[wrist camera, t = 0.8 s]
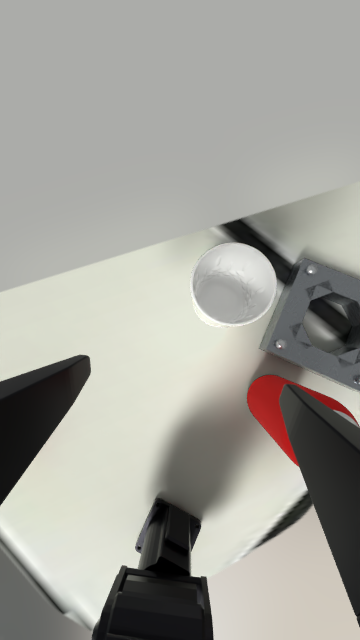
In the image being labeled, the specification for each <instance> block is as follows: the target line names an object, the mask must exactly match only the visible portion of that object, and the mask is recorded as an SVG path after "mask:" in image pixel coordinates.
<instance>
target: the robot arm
mask: <svg viewBox="0 0 360 640" xmlns="http://www.w3.org/2000/svg"><path fill="white" fill-rule="evenodd" d="M90 373H91V367H90V358H89V356H86V355H77V356H74V357H72V358H69V359H66V360H63V361H60V362H57V363H54V364H51V365H48V366H45V367H42V368H39V369H36V370H33V371H30V372H27V373H24V374H21V375H18V376H16V377H13V378H10V379H7V380H4V381H1V382H0V505H1V504H2V503H3V501H4V500H5V499H6V497H7V496H8V494H9V493H10V492H11V490H12V489H13V487H14V486H15V485H16V483H17V482H18V480H19V479H20V478H21V476H22V475H23V473H24V472H25V471H26V469H27V468H28V466H29V465H30V464H31V462H32V461H33V459H34V458H35V457H36V455H37V454H38V452H39V451H40V450H41V448H42V447H43V445H44V444H45V443H46V441H47V440H48V438H49V437H50V436H51V434H52V433H53V432H54V430H55V429H56V427H57V426H58V425H59V423H60V422H61V420H62V419H63V418H64V416H65V415H66V413H67V412H68V411H69V409H70V408H71V406H72V405H73V403H74V402H75V400H76V398H77V397H78V395H79V393H80V391H81V390H82V388H83V386H84V385H85V383H86V381H87V379H88V378H89V376H90ZM279 404H280V408H281V412H282V416H283V419H284V423H285V427H286V431H287V434H288V438H289V441H290V443H291V446H292V449H293V451H294V454H295V457H296V459H297V462H298V465H299V467H300V470H301V473H302V475H303V478H304V481H305V483H306V486H307V488H308V491H309V494H310V496H311V499H312V502H313V504H314V507H315V510H316V512H317V514H318V518H319V520H320V523H321V525H322V528H323V531H324V533H325V536H326V539H327V541H328V544H329V547H330V549H331V552H332V555H333V557H334V560H335V562H336V565H337V568H338V570H339V573H340V576H341V578H342V581H343V584H344V586H345V589H346V592H347V594H348V597H349V600H350V602H351V605H352V607H353V610H354V613H355V615H356V616H357V621H358V624H359V627H360V428H359V427H357V426H356V425H354V424H353V423H351V422H350V421H348V420H347V419H345V418H344V417H342V416H341V415H340V414H338V413H337V412H335V411H334V410H332V409H331V408H329V407H328V406H326V405H325V404H323V403H322V402H320V401H319V400H317V399H316V398H314V397H313V396H311V395H310V394H308V393H307V392H305V391H304V390H302V389H301V388H299V387H298V386H296V385H294V384H285V385H284V386H283V389H282V392H281V395H280V398H279ZM157 503H159V505H158V504H157ZM196 524H198V526H196ZM200 529H201V522H200V520H198V519H197V518H195V517H193V516H191V515H189V514H188V513H186V512H184V511H182V510H180V509H179V508H177V507H175V506H173V505H171V504H169V503H167V502H165V501H163V500H162V499H159V498H157V499H155V501H154V503H153V506H152V508H151V510H150V513H149V515H148V517H147V520H146V522H145V524H144V526H143V529H142V531H141V533H140V536H139V538H138V540H137V543H136V546H135V549H136V551H137V552H139V553H141V557H140V561H139V566H138V569H134V568H127V566H123V565H122V566H121V569H120V571H119V574H117V576H116V579H115V581H114V583H113V586H112V588H111V591H110V593H109V596H108V598H107V600H106V603H105V605H104V608H103V610H102V614H101V617H100V619H99V620H98V622H97V623H96V625H95V627H94V630H93V634H92V640H213V625H212V615H211V607H210V600H209V593H208V586H207V578H206V577H204V576H201V578H200V577H192V576H191V551H192V549H193V546H194V544H195V541H196V539H197V536H198V534H199V532H200ZM140 546H141V547H140Z"/></svg>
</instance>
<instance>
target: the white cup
mask: <svg viewBox="0 0 360 640" xmlns="http://www.w3.org/2000/svg"><path fill="white" fill-rule="evenodd" d="M190 289H191V296H192V303H193V307H194V310H195V312H196V313H197V315H198V317H199V319H200V320H202V321H203V322H204V323H206V324H207V325H210V326H214V327H233V326H242V325H246V324H249V323H252V322H254V321H256V320H257V319H259V318H260V317H262V316H263V315H264V314H265V313H266V312H267V311H268V310H269V308H270V307H271V305H272V303H273V301H274V299H275V295H276V290H277V279H276V274H275V271H274V269H273V267H272V265H271V263H270V261H269V260H268V259H267V258H266V257H265V256H264V255H263V254H262V253H261V252H260V251H258V250H257V249H255V248H254V247H251V246H249V245H246V244H242V243H224V244H220V245H217V246H215V247H213V248H211V249H209V250H208V251H206V252H205V253H204V254H203V255H202V256H201V257H200V258H199V259H198V261H197V262H196V264H195V266H194V268H193V270H192V274H191V279H190Z"/></svg>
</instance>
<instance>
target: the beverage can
mask: <svg viewBox="0 0 360 640" xmlns="http://www.w3.org/2000/svg"><path fill="white" fill-rule="evenodd" d="M285 384H294V385H296V386H298V387H299V388H301V389H302V390H304V391H305V392H307V393H308V394H310V395H311V396H313V397H314V398H316V399H317V400H319V401H320V402H322V403H323V404H325V405H326V406H328V407H329V408H331V409H332V410H334V411H335V412H337V413H338V414H340V415H341V416H342V417H344V418H345V419H347V420H348V421H350V422H351V423H353V424H354V425H356V426H357V427H359V428H360V426H359V425H358V423H357V421H356V419H355V418H354V416H353V415H352V414H351V413H350V411H349V410H348V409H347V408H346V407H344V406H343V405H342V404H341V403H339V402H338V401H336V400H334V399H333V398H330V397H328V396H326V395H323V394H321V393H318V392H316V391H313V390H311V389H308V388H306V387H303V386H301V385H299V384H296V383H294V382H291V381H289V380H286V379H284V378H281V377H279V376H275V375H265V376H262V377H259V378H258V379H256V380H255V381H254V382H253V383H252V384H251V386H250V388H249V390H248V394H247V403H248V407H249V409H250V411H251V413H252V414H253V416H254V417H255V418H256V419H257V420H258V422H259V423H260V424H261V425H262V426H263V427H264V429H265V430H266V431H267V432H268V433H269V435H270V436H271V437H272V438H273V439H274V440H275V442H276V443H277V444H278V445H279V446H280V447H281V449H282V450H283V451H284V452H285V453H286V454H287V456H288V457H289V458H290V459H291V460H292V461H293V462H294V463H295V464H296V465H297V466H299V465H298V462H297V459H296V457H295V454H294V451H293V449H292V446H291V443H290V441H289V438H288V434H287V431H286V427H285V423H284V419H283V416H282V412H281V408H280V404H279V398H280V395H281V392H282V389H283V386H284V385H285Z"/></svg>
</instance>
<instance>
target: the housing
mask: <svg viewBox="0 0 360 640" xmlns="http://www.w3.org/2000/svg"><path fill="white" fill-rule="evenodd" d="M318 297H323V298H326V299H328V300H331V301H333V302H336V303H338V304H340V305H342V306H343V308H344V310H345V312H346V314H347V316H348V319H349V321H350V323H351V325H352V328H351V330H350V333H349V335H348V338H347V341H346V343H345V346H344V347H342V348H340V349H337V350H334V351H332V352H329V353H327V352H325V351H323V350H321V349H318V348H316V347H314V346H312V344H311V342H310V340H309V338H308V336H307V333H306V331H305V329H304V327H303V324H302V320H303V318H304V316H305V313H306V311H307V308H308V306H309V303H310V301H311V300H313V299H316V298H318ZM259 349H261V350H263V351H266V352H268V353H270V354H272V355H275V356H277V357H279V358H281V359H284V360H286V361H288V362H290V363H293V364H295V365H297V366H299V367H301V368H304V369H306V370H308V371H310V372H313V373H315V374H317V375H319V376H322V377H324V378H326V379H328V380H331V381H333V382H335V383H337V384H339V385H342V386H344V387H346V388H348V389H351V390H354V391H357V392H360V280H359V279H356V278H354V277H351V276H349V275H346V274H344V273H341V272H339V271H336V270H333V269H331V268H328V267H326V266H323V265H321V264H318V263H316V262H313V261H311V260H308V259H306V258H303V259H302V260H300V261H299V262H298V263H296V264H295V265H294V266H293V268H292V271H291V273H290V275H289V278H288V280H287V283H286V285H285V287H284V290H283V292H282V294H281V297H280V299H279V302H278V304H277V306H276V309H275V311H274V314H273V316H272V318H271V321H270V323H269V325H268V328H267V330H266V333H265V335H264V337H263V340H262V342H261V345H260V347H259Z"/></svg>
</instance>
